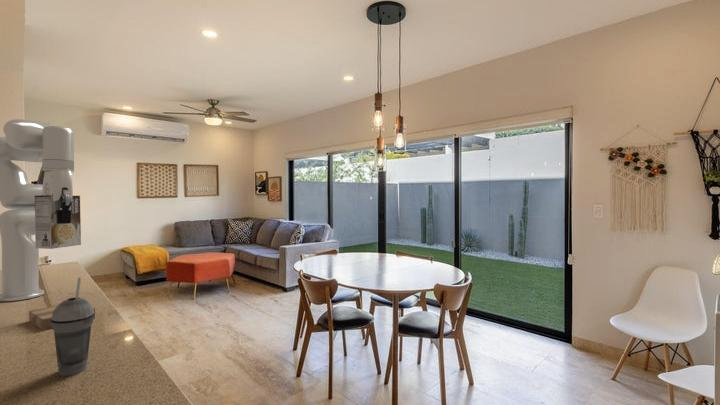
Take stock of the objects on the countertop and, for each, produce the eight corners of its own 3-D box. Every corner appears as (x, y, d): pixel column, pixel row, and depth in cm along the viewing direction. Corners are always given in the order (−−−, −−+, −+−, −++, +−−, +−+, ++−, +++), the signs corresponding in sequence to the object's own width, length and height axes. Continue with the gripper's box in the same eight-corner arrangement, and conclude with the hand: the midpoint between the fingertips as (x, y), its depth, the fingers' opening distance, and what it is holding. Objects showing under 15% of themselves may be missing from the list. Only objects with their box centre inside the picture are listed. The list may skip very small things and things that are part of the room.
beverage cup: (67, 362, 78) (68, 273, 78) (101, 362, 78) (102, 273, 78) (40, 379, 71) (41, 281, 70) (78, 378, 71) (79, 281, 71)
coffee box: (65, 244, 114) (65, 195, 114) (81, 245, 112) (81, 195, 112) (34, 248, 105) (33, 195, 105) (51, 249, 103) (51, 195, 103)
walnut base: (29, 321, 102) (29, 311, 102) (78, 310, 112) (79, 301, 112) (43, 330, 96) (43, 319, 96) (94, 318, 106) (94, 308, 106)
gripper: (32, 167, 110) (33, 222, 110) (53, 164, 101) (53, 224, 101) (62, 169, 116) (62, 221, 116) (84, 166, 107) (84, 223, 107)
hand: (58, 222), depth 108 cm, fingers closed on coffee box, 8 cm apart
